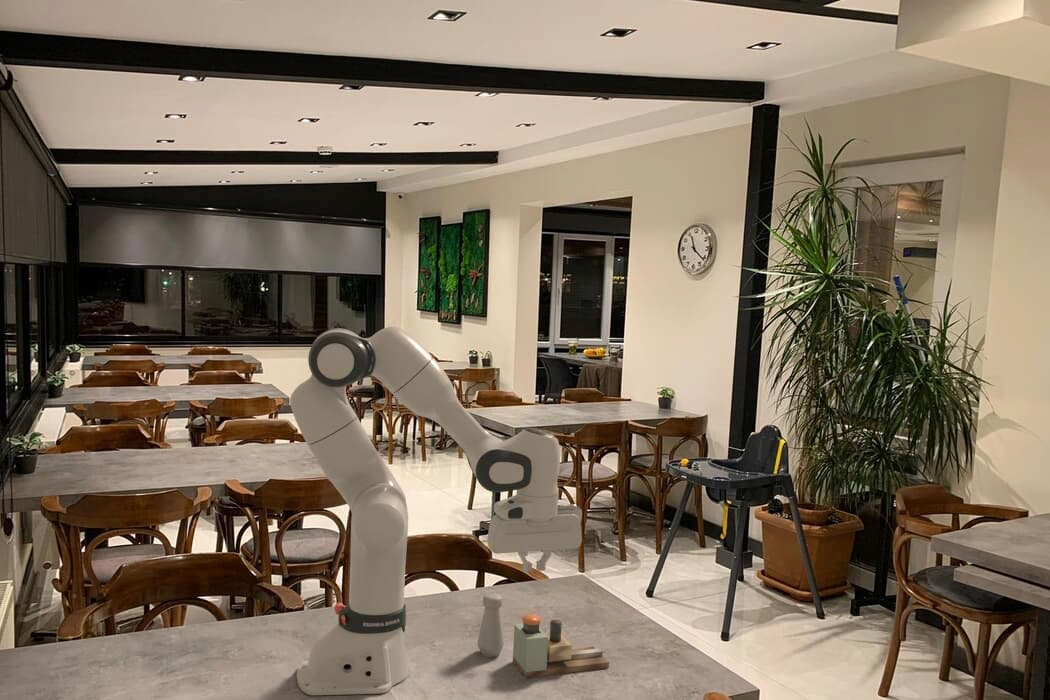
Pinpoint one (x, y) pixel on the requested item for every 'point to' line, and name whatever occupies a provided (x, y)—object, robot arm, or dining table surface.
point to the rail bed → (571, 663)
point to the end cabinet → (530, 649)
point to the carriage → (557, 643)
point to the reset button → (531, 624)
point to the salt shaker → (491, 627)
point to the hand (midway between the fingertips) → (533, 570)
